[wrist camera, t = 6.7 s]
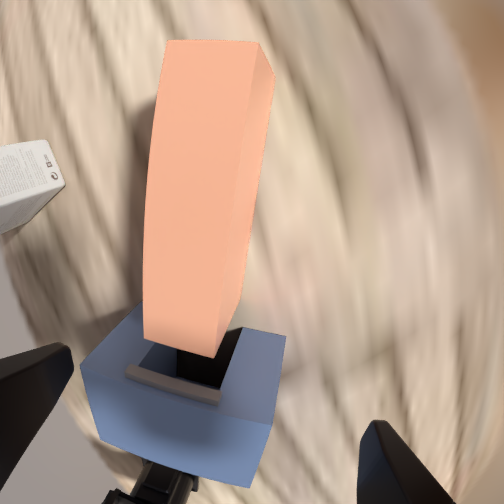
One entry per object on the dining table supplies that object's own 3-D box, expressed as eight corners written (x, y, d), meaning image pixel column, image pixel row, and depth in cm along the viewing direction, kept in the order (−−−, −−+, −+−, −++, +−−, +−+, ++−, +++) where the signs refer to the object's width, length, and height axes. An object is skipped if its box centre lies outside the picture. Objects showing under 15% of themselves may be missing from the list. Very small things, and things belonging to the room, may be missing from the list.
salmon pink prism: (240, 298, 19) (213, 358, 14) (186, 286, 20) (143, 338, 14) (275, 77, 15) (258, 42, 9) (212, 71, 15) (167, 40, 10)
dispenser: (266, 407, 22) (249, 488, 15) (144, 374, 23) (100, 439, 16) (287, 331, 20) (273, 420, 13) (141, 296, 21) (78, 359, 14)
